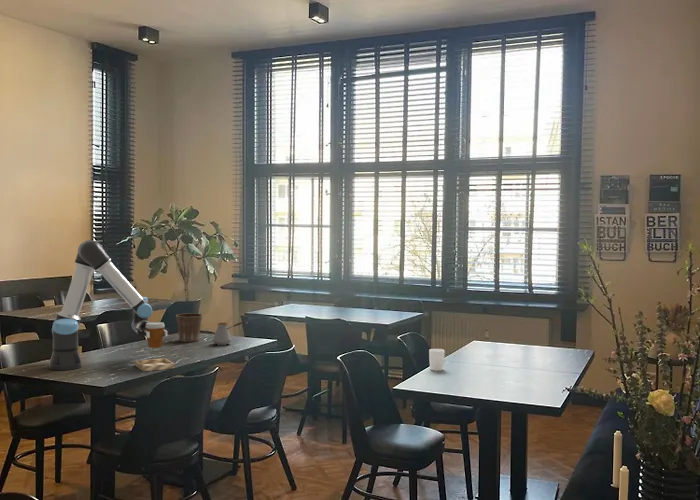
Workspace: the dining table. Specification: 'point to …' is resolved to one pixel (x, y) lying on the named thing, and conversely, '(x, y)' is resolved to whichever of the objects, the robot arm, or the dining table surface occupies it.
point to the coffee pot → (223, 334)
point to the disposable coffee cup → (155, 334)
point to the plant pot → (189, 326)
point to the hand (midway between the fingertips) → (157, 334)
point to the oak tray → (154, 364)
